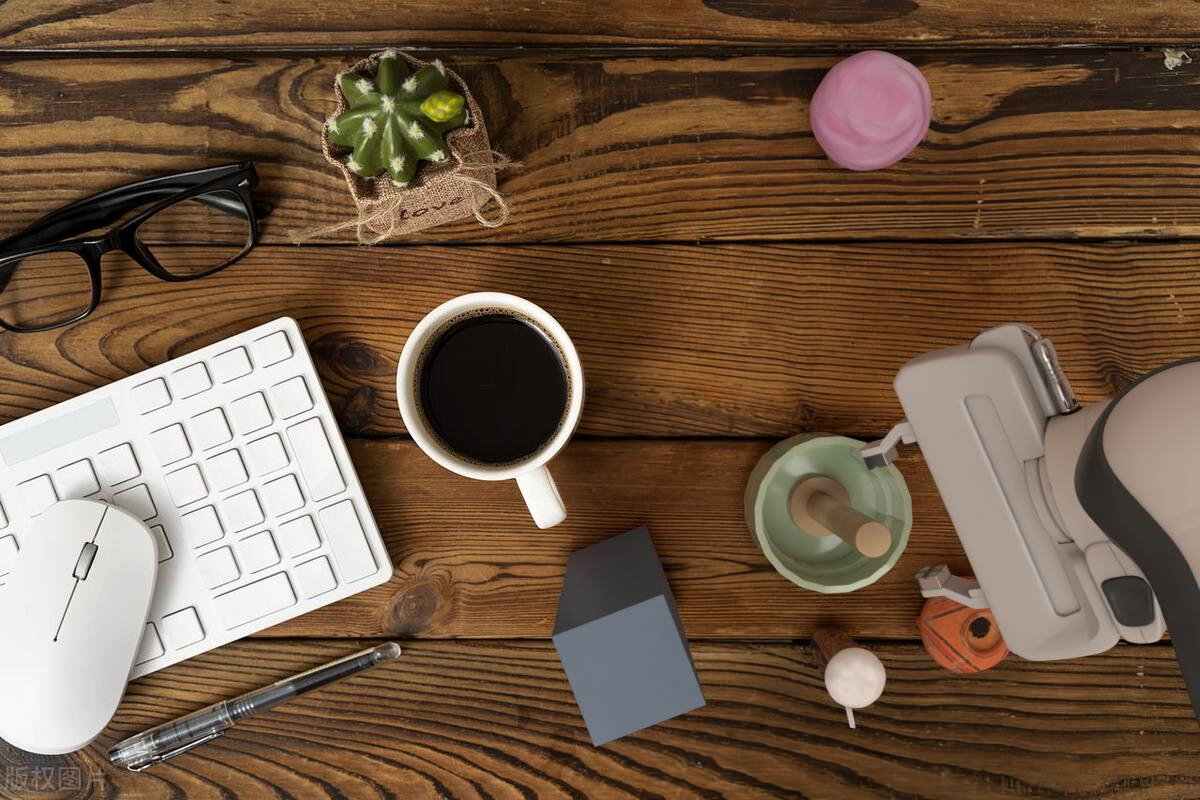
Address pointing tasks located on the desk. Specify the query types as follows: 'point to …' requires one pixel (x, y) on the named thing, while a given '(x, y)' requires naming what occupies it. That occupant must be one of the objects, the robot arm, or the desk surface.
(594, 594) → the stand
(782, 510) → the bowl
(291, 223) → the desk surface
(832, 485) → the wooden pestle
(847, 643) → the milkshake
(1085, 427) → the robot arm
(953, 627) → the pot
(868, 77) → the cupcake
